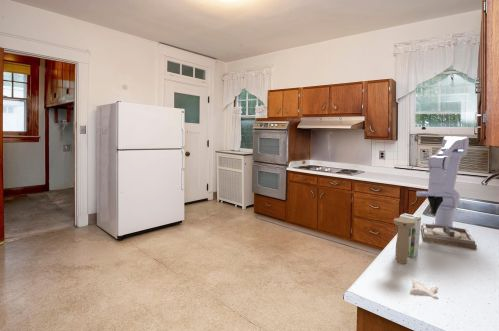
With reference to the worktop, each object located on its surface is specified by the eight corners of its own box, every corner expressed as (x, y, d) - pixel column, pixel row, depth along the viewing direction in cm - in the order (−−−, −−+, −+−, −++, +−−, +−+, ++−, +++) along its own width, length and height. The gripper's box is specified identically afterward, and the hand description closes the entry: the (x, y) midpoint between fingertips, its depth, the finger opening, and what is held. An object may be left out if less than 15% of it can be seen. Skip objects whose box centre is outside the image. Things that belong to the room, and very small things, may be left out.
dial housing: (420, 228, 137) (421, 222, 137) (467, 235, 129) (468, 228, 129) (423, 240, 122) (423, 233, 121) (476, 249, 113) (477, 242, 113)
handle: (390, 258, 104) (393, 217, 102) (410, 261, 102) (414, 219, 100) (391, 263, 100) (394, 221, 98) (412, 267, 97) (415, 223, 96)
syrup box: (396, 252, 109) (398, 215, 107) (402, 248, 113) (405, 212, 111) (412, 258, 105) (415, 218, 103) (418, 253, 108) (421, 215, 107)
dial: (429, 228, 131) (430, 222, 131) (455, 231, 128) (456, 224, 128) (437, 237, 121) (438, 230, 120) (466, 240, 118) (466, 233, 117)
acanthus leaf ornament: (410, 295, 82) (410, 289, 81) (408, 284, 88) (409, 278, 87) (441, 302, 78) (442, 295, 78) (438, 290, 84) (438, 283, 84)
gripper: (419, 183, 126) (417, 213, 128) (458, 185, 121) (455, 217, 123) (416, 180, 133) (413, 209, 135) (453, 183, 128) (450, 213, 130)
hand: (433, 213), depth 129 cm, fingers closed
